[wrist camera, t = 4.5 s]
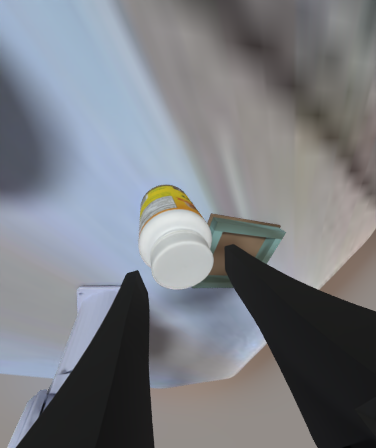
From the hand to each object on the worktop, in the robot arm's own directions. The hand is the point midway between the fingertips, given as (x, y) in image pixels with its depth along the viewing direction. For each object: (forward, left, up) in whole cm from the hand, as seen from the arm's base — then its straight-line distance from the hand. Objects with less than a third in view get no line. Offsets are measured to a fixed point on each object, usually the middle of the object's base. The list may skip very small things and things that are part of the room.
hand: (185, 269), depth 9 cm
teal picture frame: (-6, -12, -10) cm, 17 cm away
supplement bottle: (0, 0, -11) cm, 11 cm away
